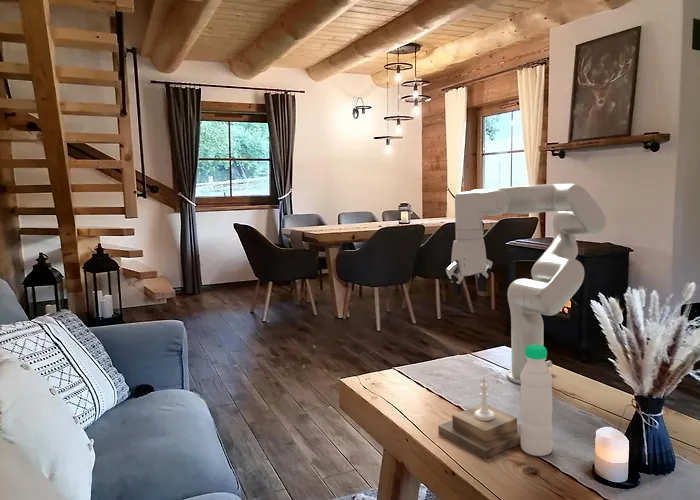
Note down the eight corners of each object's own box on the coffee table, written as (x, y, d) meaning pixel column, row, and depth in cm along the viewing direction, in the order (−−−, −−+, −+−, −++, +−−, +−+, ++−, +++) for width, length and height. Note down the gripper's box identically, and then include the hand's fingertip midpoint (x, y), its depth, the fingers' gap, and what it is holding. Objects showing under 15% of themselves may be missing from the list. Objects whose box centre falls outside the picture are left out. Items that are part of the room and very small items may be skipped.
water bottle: (559, 454, 122) (559, 349, 119) (532, 460, 120) (532, 353, 117) (539, 440, 129) (539, 340, 125) (514, 445, 127) (513, 344, 123)
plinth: (483, 415, 143) (483, 397, 143) (532, 438, 130) (532, 418, 129) (438, 432, 135) (438, 414, 134) (485, 459, 121) (485, 438, 121)
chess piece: (495, 421, 129) (494, 381, 128) (474, 420, 130) (473, 381, 129) (494, 412, 134) (493, 374, 132) (474, 411, 135) (473, 373, 133)
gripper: (481, 231, 159) (482, 287, 161) (437, 237, 150) (438, 296, 152) (500, 232, 153) (501, 291, 155) (455, 239, 144) (457, 301, 146)
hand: (470, 293), depth 154 cm, fingers open, 9 cm apart
